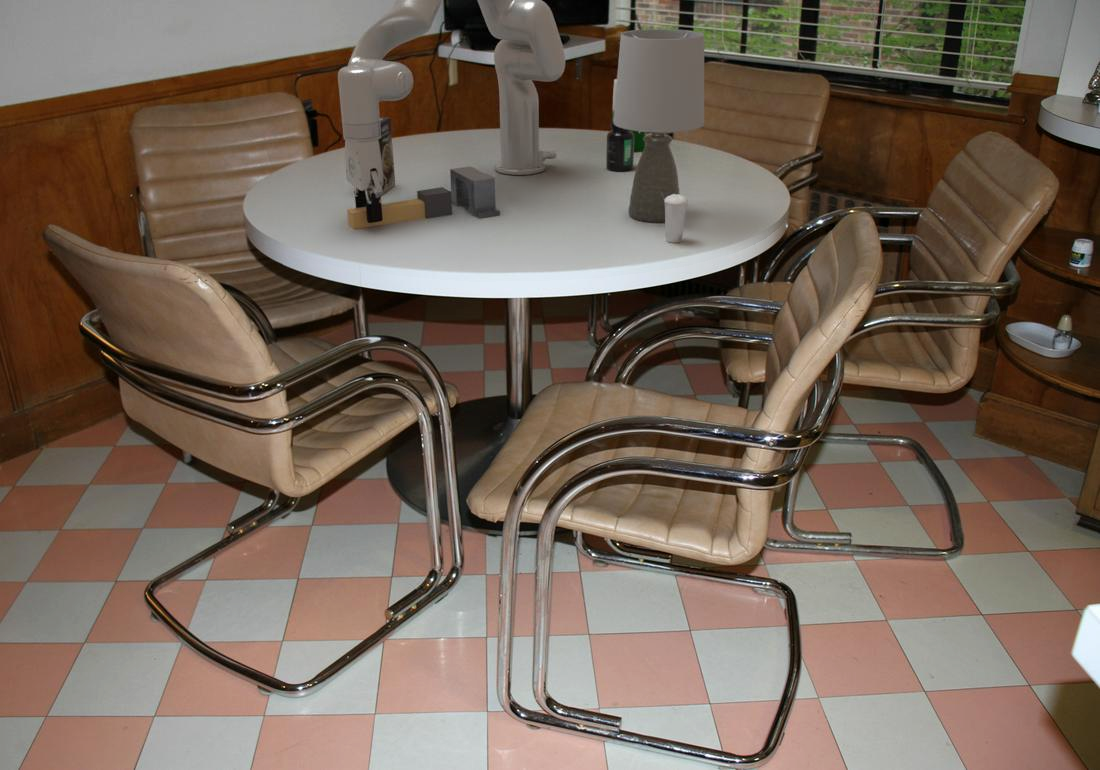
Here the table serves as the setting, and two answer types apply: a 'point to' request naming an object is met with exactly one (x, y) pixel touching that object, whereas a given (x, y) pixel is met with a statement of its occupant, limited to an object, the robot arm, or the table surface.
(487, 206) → the housing
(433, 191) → the plug
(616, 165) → the supplement bottle
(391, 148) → the coffee box
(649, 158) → the lamp
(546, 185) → the table surface
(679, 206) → the milkshake
